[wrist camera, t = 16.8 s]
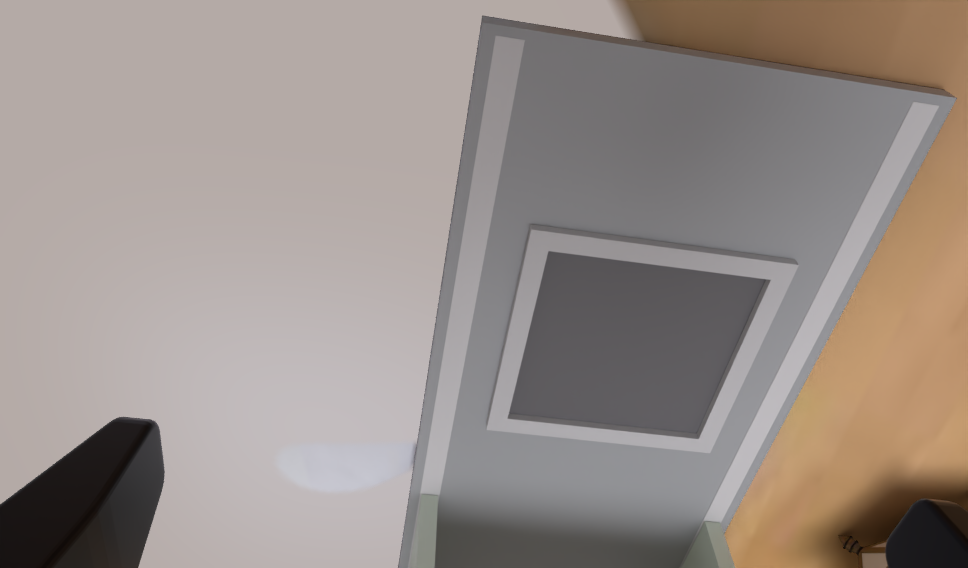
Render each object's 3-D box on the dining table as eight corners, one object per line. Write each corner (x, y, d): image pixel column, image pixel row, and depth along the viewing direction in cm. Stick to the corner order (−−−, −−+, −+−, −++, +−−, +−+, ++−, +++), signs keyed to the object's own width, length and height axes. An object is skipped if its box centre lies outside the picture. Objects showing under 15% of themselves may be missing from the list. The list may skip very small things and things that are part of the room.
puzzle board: (944, 89, 19) (963, 102, 18) (671, 612, 32) (676, 632, 31) (482, 15, 18) (482, 26, 17) (394, 589, 31) (392, 609, 30)
